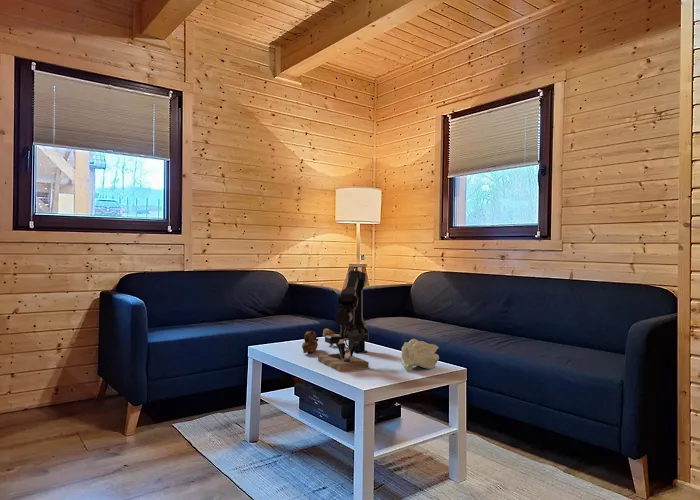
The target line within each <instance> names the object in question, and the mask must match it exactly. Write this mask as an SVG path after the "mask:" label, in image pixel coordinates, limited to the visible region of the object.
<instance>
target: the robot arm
mask: <svg viewBox="0 0 700 500" xmlns="http://www.w3.org/2000/svg"><path fill="white" fill-rule="evenodd" d="M367 281H368V275H367V273H366V272H364V271H361V270H358V269H357V270H355V269H352V270H349V271H348V273H347V283H346V285H345V288H344V289H342V290H341V291H340V294H339V295H338V299H337V304H336V305H337V307H336V309H337V310H340V311H339V312H338V313H337V315H336V316H335V319H336V323H337V324H338V325H339V326H338V327H340V332H339V333H338V335H339V337H338V336H336V335H327V336H326V337H324V343H327V344H329V345H330V344H333V345H336V347H337V349H338V352H339V353H340V354H341V357H342V359H344V349H345V348H344V347H345V346H346V342H345V340H346V341H348V342H347V345H348V346H349V347H348V349H350V350H351V357H352V355H353V354H354V353H356V354H359V353H368V350H366V349H365V348H366V342H369V338H370V337H369V336H370V335H369V330H368V327H367V322H366V320H364V317H363V311H364V310H363V301H364V300H363V297H364V295H363V289H364V288H365V285H367ZM353 356H354V355H353Z"/></svg>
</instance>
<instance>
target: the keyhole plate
mask: <svg viewBox="0 0 700 500" xmlns="http://www.w3.org/2000/svg"><path fill="white" fill-rule="evenodd" d="M317 362H318V363H321V364H323V365H325V366H326V367H328V368H331V369H333V370H335V371H337V372H340V373H341V372H347V371H358V370H365V369H369V368H370V367H369V364H370V363H369V361H367V360H365V359H362V358H360V357H357V356H356V355H352V357H351V360H350V362H344V361H343V359H342V357H341V354H340V352H339V353H338V352H337V353H329V354H320V355H319V354H318V355H317Z"/></svg>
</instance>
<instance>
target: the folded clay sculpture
mask: <svg viewBox="0 0 700 500" xmlns="http://www.w3.org/2000/svg"><path fill="white" fill-rule="evenodd" d="M438 349H439V346H438V345H436V344H435V343H434V344H433V343H427V342H425V341H423V340H418V339H416V338H411V339H410V340H409V341H408V342H407V341H405V342H404V343H403V345H402V347H401V361H400V362H401V365H402V366H403V369H404V370H405V371H406V372H410V371H412V369H413V367H414V366H417V367H421V368H423V369H428V370H431V369H434V368H435V365H437V362H439V359H440V356H439V354H437V353H436V352H437V350H438Z"/></svg>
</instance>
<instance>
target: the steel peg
mask: <svg viewBox="0 0 700 500" xmlns="http://www.w3.org/2000/svg"><path fill="white" fill-rule="evenodd" d="M350 360H351V350H350V349H349V348H344V359H343V361H344V362H350Z"/></svg>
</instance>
